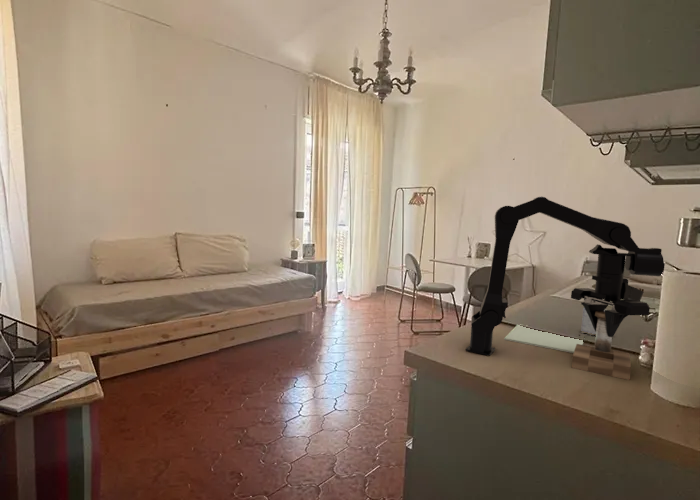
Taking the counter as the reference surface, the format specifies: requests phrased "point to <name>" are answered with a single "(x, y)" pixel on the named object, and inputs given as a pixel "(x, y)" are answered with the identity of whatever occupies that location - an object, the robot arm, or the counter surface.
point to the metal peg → (602, 333)
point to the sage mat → (543, 339)
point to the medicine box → (587, 323)
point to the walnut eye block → (602, 361)
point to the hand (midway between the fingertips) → (603, 334)
